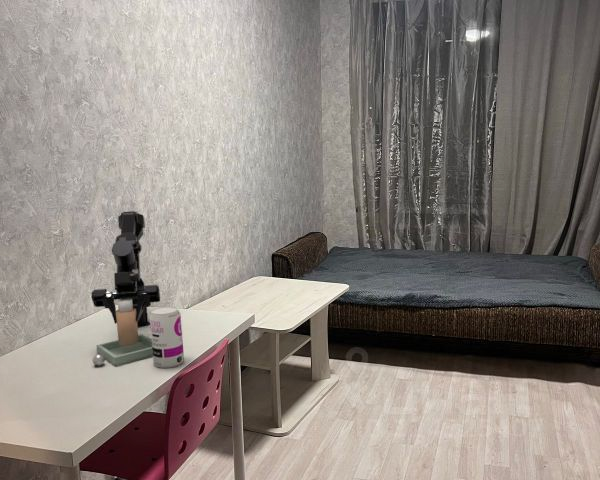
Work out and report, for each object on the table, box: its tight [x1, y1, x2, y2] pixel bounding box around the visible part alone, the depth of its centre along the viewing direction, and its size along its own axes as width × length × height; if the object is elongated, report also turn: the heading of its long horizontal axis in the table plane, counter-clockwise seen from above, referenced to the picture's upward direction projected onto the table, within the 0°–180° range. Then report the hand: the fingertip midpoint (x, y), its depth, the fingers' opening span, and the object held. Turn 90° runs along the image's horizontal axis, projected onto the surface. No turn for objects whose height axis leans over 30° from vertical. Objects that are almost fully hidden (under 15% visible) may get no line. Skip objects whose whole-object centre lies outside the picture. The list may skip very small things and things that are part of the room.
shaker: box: [116, 298, 139, 346], centre depth 174 cm, size 6×6×12 cm
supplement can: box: [149, 306, 185, 369], centre depth 165 cm, size 8×8×15 cm
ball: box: [92, 354, 106, 367], centre depth 167 cm, size 3×3×3 cm
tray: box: [96, 333, 153, 367], centre depth 175 cm, size 14×14×2 cm
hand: (126, 321), depth 172 cm, fingers closed on shaker, 6 cm apart
